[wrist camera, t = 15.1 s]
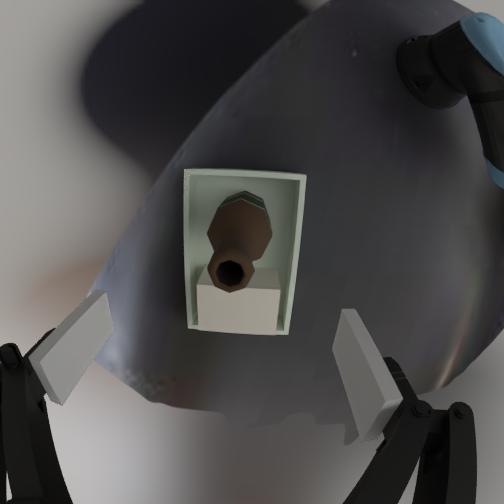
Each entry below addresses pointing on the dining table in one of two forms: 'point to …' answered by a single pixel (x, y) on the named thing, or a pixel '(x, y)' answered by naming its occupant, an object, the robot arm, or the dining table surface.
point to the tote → (281, 217)
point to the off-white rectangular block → (240, 304)
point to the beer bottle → (238, 240)
